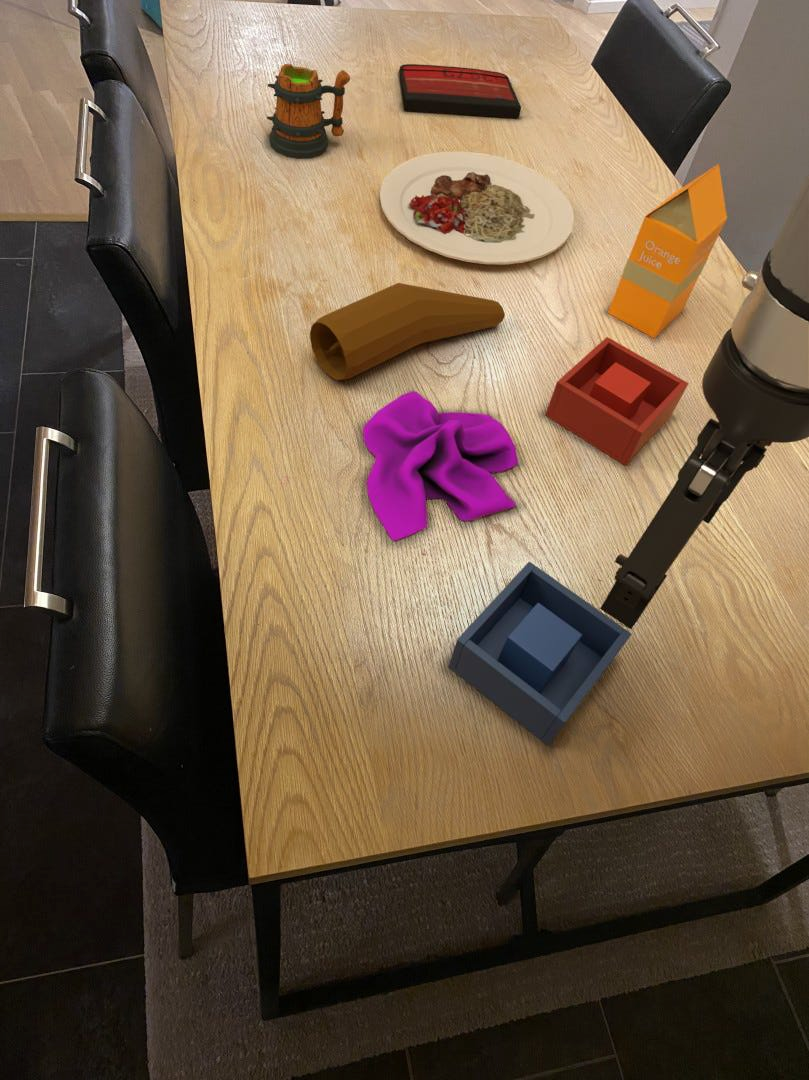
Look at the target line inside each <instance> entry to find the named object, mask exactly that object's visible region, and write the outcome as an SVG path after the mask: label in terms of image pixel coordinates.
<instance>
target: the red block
mask: <svg viewBox="0 0 809 1080" xmlns="http://www.w3.org/2000/svg"><path fill="white" fill-rule="evenodd" d="M650 384H651V382H649V381H647V380H646V379H644V378H642V377H640V376H639V375H637V374H635V373H633V372H632V371H630V370H628V369H627V368H625V367H623V366H621V365H620V364H618V363H616V362H615V363H614V364H613V365H612V366H611V367H610V368H609V369H608V370H607V371H606V372H605V373H604V374H603V375H602V376H601V377H599V378H598V379H597V380H596V381H595V382H594V385H593V387H592V390H591V392H590V395H589V396H590V397H592V398H594V399H595V400H597V401H599V402H600V403H602V404H604V405H605V406H607V407H609V408H610V409H612V410H613V411H615V412H617V413H618V414H620V415H622V416H623V417H625V418H627V419H628V420H630V419H631V418H632V417H633V416H634V415H635V414H636V413H637V411H638V409H639V407H640V405H641V403H642V401H643V399H644V397H645V394H646V392H647V390H648V388H649V386H650Z"/></svg>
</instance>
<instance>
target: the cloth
mask: <svg viewBox="0 0 809 1080" xmlns="http://www.w3.org/2000/svg"><path fill="white" fill-rule="evenodd" d="M362 434H363V440H364V444H365V447H366V448H367V450H368V451H369V452H370V453H371V454H372V455H373V456H374V457H375V458H374V462H373V465H372V466H371V469H370V472H369V473H368V475H367V478H366V479H367V480H366V489H367V494H368V498H369V499H368V500H369V502H370V505H371V507H372V509H373V512H374V514H375V516H377V518H378V520H379V522H380V524H381V525H382V526H383V528H384V530H385V531H386V533H387V535H388V537H389V538H390V540H391V541H393V542H396V541H400V540H403V539H406V538H407V537H411V536H412V535H414V534H416V533H418V532H421V531H423V530H424V529H425V528H426V527H427V526H428V523H429V521H428V507H427V500H437V499H438V500H439V499H440V500H443V501H445V503H446V505H448V507H449V508H450V509H451V510H452V512H453V513H454V514H455V516H456V517H457V518H458V519H459V520H461V522H467V521H474V520H477V519H480V518H482V517H484V516H489V515H492V514H496V513H500V512H503V511H507V510H510V509H512V508H515V507H516V506H517V504H516V503H515V501H513V499H511V498H510V496H509V495H508V494H507V492H506V491H505V490H504V488H503V487H502V486H501V484H499V482H498V480H497V479H496V478H495V477H494V475H493V474H496V473H502V472H506V471H507V470H510V469H511V468H513V467H515V466H516V465H518V464H519V459H518V455H517V447H516V445H515V442H514V441H513V438H512V437H511V435H510V433H509V432H508V430H507V429H506V428H505V427H504V425H503V424H502V423H501V422H500V421H498V420H497V419H496V418H493V415H489V414H485V413H474V412H473V413H472V412H454V411H449V412H440V413H439V412H438V409H437V408H436V406H435V405H434V404H433V403H432V402H431V401H430V400H428V399H426V398H425V397H423V396H422V395H421V394H420V393H419V392H418V391H414V390H413V391H409V392H406V393H403V394H401V395H400V396H398V397H397V398H395V399H394V400H392V401H390V402H389V403H387V404H385V405H384V406H383V407H382V408H379V410H378V411H376V412H375V414H373V416H371V418H370V419H369V420H368V421H367V422H366V424H364V425H363V427H362Z"/></svg>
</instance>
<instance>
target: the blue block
mask: <svg viewBox="0 0 809 1080" xmlns="http://www.w3.org/2000/svg"><path fill="white" fill-rule="evenodd" d="M581 637H582V634H581V633H579V632H578V631H577V630H575V629H574V628H573V627H571V626H570V625H568V624H567V623H566V622H564V621H563V620H562V619H560V618H559V617H557V616H556V615H555V614H553V613H552V612H551V611H549V610H548V609H546V608H545V607H544V606H542V605H541V604H540V603H537V604H536V605H535V606H534V608H533V609H532V610H531V611H530V612H529V613H528V614H527V615H526V617H525V618H524V619H523V620H522V621H521V622H520V623H519V624H518V626H517V627H516V628H515V629H514V630H513V631H512V632H511V634H510V635H509V636H508V637H507V640H506V642H505V644H504V646H503V649H502V651H501V653H500V655H499V658H498V660H497V661H498V662H499V663H501V664H502V665H503V666H505V667H506V668H507V669H508V670H510V671H511V672H512V673H514V674H515V675H516V676H518V677H519V678H520V679H522V680H523V681H524V682H525V683H527V684H528V685H529V686H531V687H532V688H533V689H535V690H536V691H537V692H538V693H541V692H542V691H543V690H544V688H545V687H546V686H547V685H548V683H549V682H550V681H551V680H552V678H553V677H554V676H555V675H556V673H557V672H558V671H559V670H560V668H561V667H562V666H563V665H564V663H565V662H566V661H567V660H568V658H569V656H570V655H571V653H572V652H573V650H574V648H575V647H576V645H577V643H578V642H579V640H580V638H581Z"/></svg>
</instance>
